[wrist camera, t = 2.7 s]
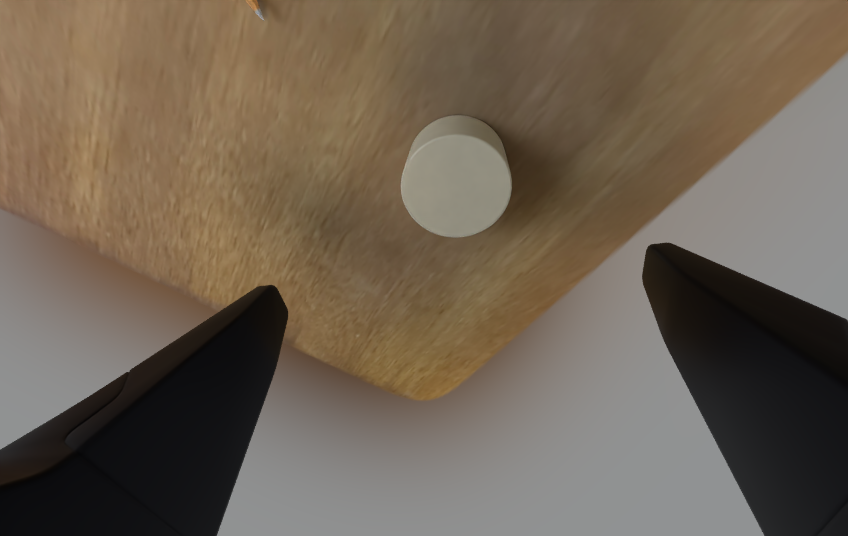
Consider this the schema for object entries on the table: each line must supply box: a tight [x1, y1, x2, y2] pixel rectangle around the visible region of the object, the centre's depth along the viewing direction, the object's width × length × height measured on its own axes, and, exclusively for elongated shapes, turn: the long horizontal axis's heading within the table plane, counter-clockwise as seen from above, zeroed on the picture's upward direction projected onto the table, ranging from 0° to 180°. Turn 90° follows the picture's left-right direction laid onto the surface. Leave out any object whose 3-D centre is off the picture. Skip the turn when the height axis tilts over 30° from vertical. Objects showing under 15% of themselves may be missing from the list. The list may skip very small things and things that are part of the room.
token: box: [401, 115, 512, 237], centre depth 15 cm, size 4×4×2 cm
